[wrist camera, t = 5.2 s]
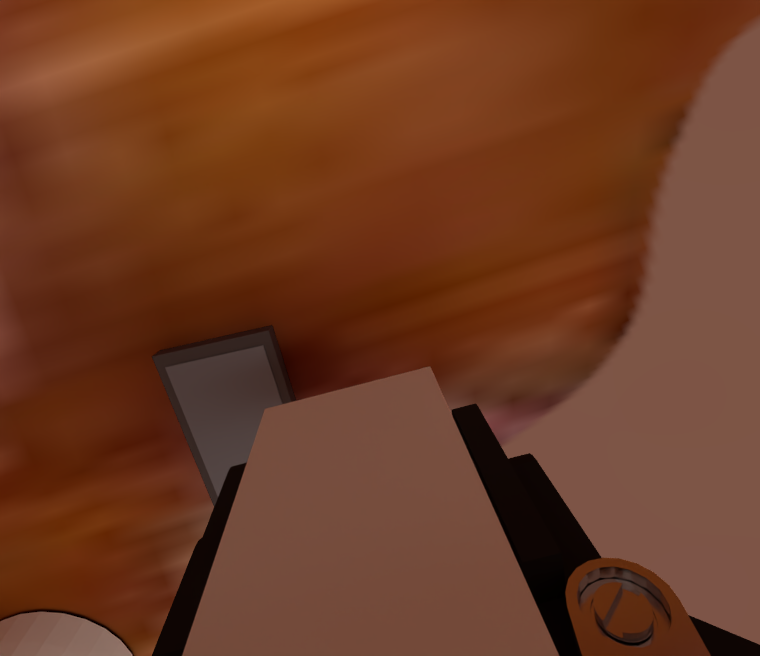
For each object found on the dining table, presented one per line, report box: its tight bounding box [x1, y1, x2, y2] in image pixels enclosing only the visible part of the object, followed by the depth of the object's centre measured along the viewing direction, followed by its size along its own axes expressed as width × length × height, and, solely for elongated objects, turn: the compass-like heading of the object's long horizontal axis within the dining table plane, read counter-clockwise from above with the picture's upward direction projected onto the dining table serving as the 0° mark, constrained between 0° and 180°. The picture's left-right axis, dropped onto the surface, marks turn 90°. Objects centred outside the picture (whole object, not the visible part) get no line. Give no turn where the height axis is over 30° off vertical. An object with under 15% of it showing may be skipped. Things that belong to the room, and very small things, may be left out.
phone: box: [152, 325, 296, 507], centre depth 18 cm, size 8×4×1 cm, turn 13°
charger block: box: [182, 367, 559, 656], centre depth 7 cm, size 4×4×7 cm
